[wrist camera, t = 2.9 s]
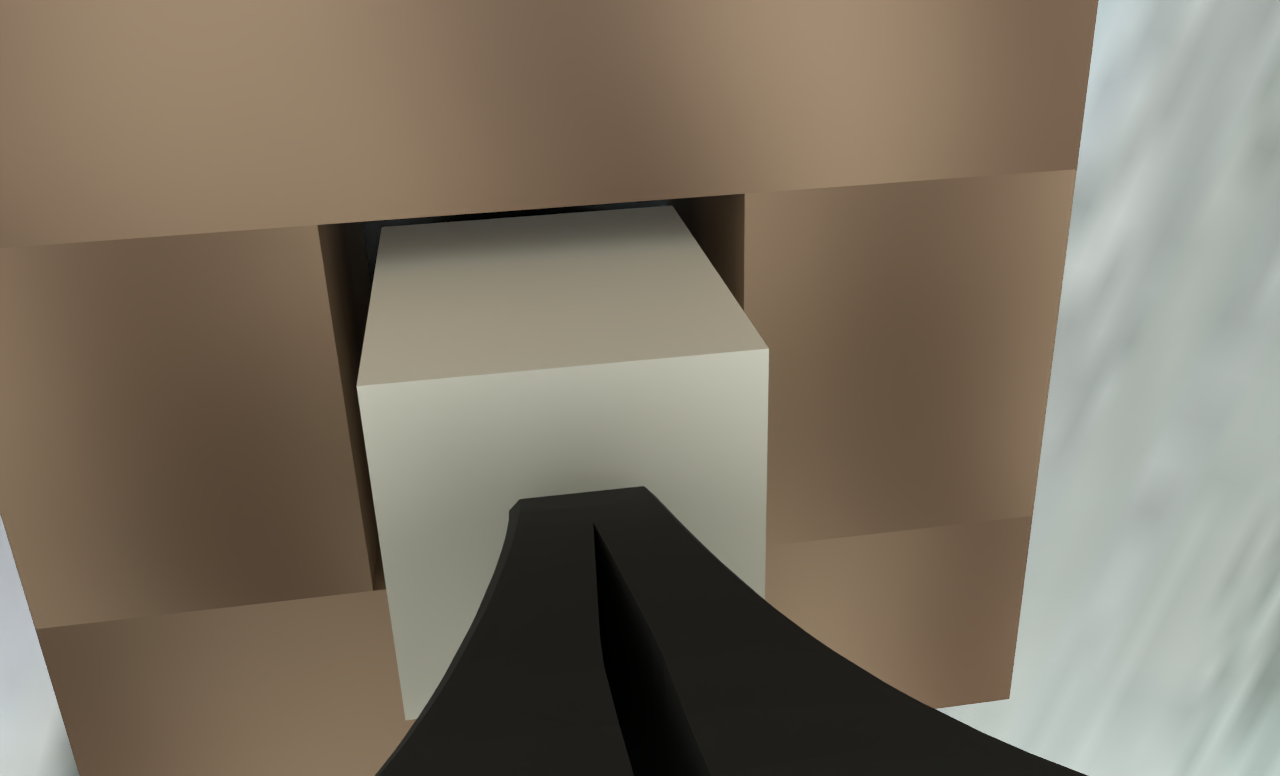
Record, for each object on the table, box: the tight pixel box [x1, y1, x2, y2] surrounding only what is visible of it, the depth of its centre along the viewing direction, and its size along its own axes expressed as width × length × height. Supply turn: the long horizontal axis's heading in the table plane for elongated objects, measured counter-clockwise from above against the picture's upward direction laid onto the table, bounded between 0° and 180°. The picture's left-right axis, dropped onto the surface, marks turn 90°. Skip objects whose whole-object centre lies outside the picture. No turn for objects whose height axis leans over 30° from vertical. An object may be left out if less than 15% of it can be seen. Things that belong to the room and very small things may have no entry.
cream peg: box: [357, 206, 769, 720], centre depth 14 cm, size 4×4×5 cm
